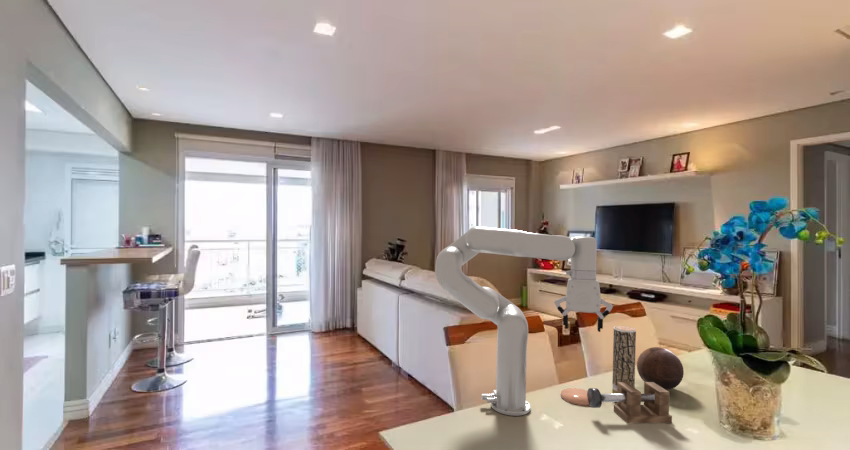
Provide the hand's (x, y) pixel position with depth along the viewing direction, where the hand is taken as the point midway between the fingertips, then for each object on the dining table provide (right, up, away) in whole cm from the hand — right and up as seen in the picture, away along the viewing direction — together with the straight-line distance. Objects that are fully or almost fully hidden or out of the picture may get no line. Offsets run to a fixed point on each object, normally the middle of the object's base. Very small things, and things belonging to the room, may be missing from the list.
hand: (582, 329), depth 131 cm
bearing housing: (+18, -27, -2) cm, 33 cm away
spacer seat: (+3, -27, +12) cm, 29 cm away
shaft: (+12, -24, -2) cm, 27 cm away
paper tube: (+17, -27, +9) cm, 34 cm away
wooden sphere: (+37, -28, +22) cm, 51 cm away
